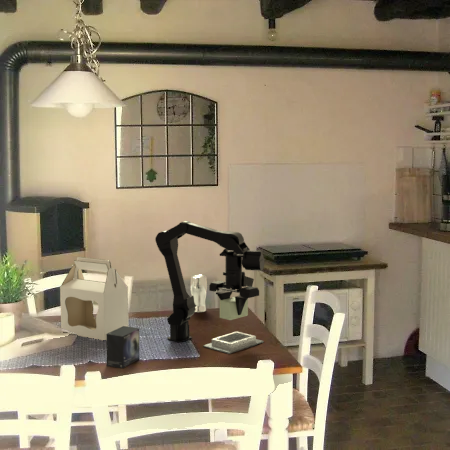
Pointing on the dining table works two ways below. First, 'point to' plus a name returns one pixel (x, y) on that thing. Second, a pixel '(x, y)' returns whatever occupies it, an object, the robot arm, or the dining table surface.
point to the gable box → (93, 291)
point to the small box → (122, 347)
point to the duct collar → (233, 342)
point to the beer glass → (199, 291)
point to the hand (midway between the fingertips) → (233, 313)
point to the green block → (231, 309)
